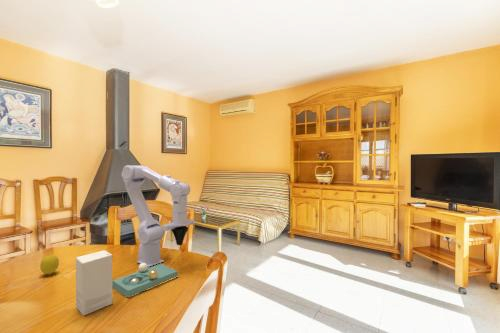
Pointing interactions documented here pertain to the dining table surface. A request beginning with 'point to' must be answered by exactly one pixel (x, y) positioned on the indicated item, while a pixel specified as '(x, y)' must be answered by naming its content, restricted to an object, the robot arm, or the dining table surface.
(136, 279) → the steel ball
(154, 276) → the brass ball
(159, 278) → the bearing plate
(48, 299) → the dining table surface
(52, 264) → the lemon
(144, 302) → the dining table surface
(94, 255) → the skincare box
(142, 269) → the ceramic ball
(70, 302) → the dining table surface
